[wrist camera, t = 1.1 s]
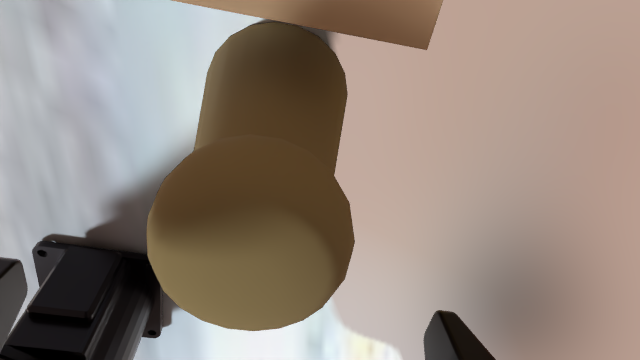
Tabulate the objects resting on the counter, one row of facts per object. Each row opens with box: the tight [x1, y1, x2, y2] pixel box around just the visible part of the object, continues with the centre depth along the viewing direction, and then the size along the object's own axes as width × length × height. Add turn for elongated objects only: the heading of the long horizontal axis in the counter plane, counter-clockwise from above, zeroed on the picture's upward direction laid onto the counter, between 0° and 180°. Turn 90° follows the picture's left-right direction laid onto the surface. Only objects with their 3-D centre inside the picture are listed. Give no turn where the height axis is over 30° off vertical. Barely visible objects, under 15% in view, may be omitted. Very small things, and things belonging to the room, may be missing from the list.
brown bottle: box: [146, 22, 355, 331], centre depth 15 cm, size 6×6×11 cm
